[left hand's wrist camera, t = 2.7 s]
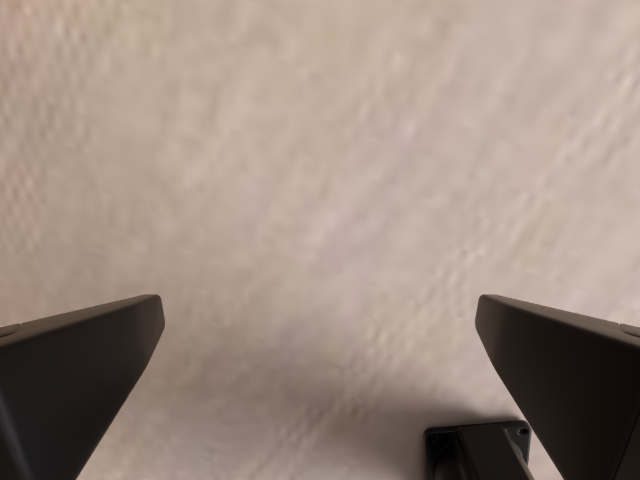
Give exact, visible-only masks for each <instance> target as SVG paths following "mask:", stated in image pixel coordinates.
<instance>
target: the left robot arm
mask: <svg viewBox="0 0 640 480" xmlns="http://www.w3.org/2000/svg"><path fill="white" fill-rule="evenodd" d="M164 326H165V319H164V313H163V307H162V301H161V298H160V296H159V295H141V296H137V297H132V298H128V299H124V300H119V301H115V302H111V303H107V304H102V305H98V306H94V307H89V308H85V309H81V310H77V311H72V312H68V313H64V314H59V315H55V316H51V317H46V318H42V319H38V320H34V321H29V322H25V323H22V324H21V325H20V324H14V325H10V326H5V327H1V328H0V480H76V479H77V477H78V476H79V474H80V472H81V471H82V469H83V468H84V466H85V464H86V463H87V461H88V460H89V458H90V456H91V455H92V453H93V452H94V450H95V448H96V447H97V445H98V444H99V442H100V440H101V439H102V437H103V436H104V434H105V432H106V431H107V429H108V428H109V426H110V424H111V423H112V421H113V420H114V418H115V416H116V415H117V413H118V412H119V410H120V409H121V407H122V405H123V404H124V402H125V401H126V399H127V397H128V396H129V394H130V393H131V391H132V389H133V388H134V386H135V385H136V383H137V381H138V380H139V378H140V377H141V375H142V373H143V372H144V370H145V368H146V367H147V365H148V363H149V361H150V358H151V356H152V354H153V352H154V350H155V348H156V345H157V343H158V341H159V339H160V337H161V334H162V332H163V330H164ZM475 326H476V330H477V332H478V334H479V337H480V339H481V341H482V343H483V345H484V348H485V350H486V352H487V354H488V356H489V358H490V361H491V363H492V365H493V367H494V368H495V370H496V372H497V373H498V375H499V377H500V378H501V380H502V381H503V383H504V385H505V386H506V388H507V389H508V391H509V393H510V394H511V396H512V397H513V399H514V400H515V402H516V404H517V405H518V407H519V408H520V410H521V412H522V413H523V415H524V416H525V418H526V420H527V421H528V423H529V424H530V426H531V428H532V429H533V431H534V432H535V434H536V436H537V437H538V439H539V440H540V442H541V444H542V445H543V447H544V448H545V450H546V452H547V453H548V455H549V456H550V458H551V460H552V461H553V463H554V464H555V466H556V468H557V469H558V471H559V472H560V474H561V476H562V477H563V479H564V480H640V328H639V327H635V326H630V325H626V324H620V325H619V324H618V323H615V322H611V321H607V320H602V319H598V318H594V317H589V316H585V315H581V314H576V313H572V312H568V311H564V310H559V309H555V308H551V307H546V306H542V305H538V304H533V303H529V302H525V301H521V300H516V299H512V298H508V297H503V296H499V295H481V296H480V298H479V301H478V307H477V313H476V318H475ZM528 423H527V422H526V421H523V420H519V421H507V422H496V423H484V424H472V425H460V426H448V427H437V428H429V429H427V430H426V431H425V432H424V473H425V480H534V478H533V476H532V474H531V472H530V470H529V468H528V459H529V450H530V441H531V432H532V431H531V428H530V426H529V424H528ZM432 436H433V437H432Z"/></svg>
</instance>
